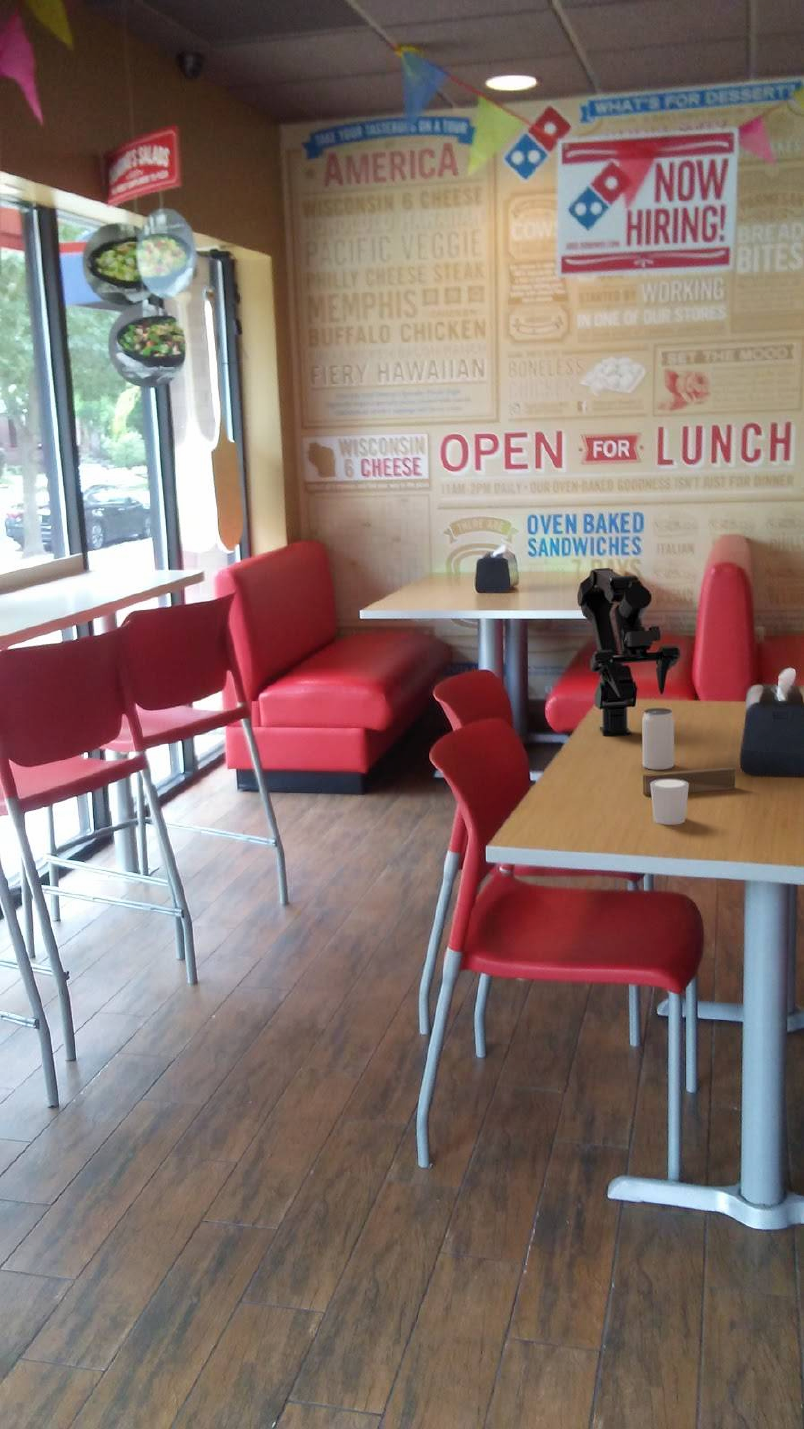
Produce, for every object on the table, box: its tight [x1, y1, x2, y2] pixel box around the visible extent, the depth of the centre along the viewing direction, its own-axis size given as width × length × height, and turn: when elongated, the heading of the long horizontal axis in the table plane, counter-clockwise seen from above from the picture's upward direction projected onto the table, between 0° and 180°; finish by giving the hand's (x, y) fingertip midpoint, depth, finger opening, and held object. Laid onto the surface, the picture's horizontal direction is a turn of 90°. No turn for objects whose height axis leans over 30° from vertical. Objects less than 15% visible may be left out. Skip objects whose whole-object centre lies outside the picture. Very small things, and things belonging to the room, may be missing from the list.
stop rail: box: [642, 766, 736, 797], centre depth 252 cm, size 2×18×4 cm, turn 97°
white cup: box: [650, 779, 689, 826], centre depth 235 cm, size 7×7×7 cm
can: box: [641, 707, 675, 771], centre depth 269 cm, size 6×6×12 cm
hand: (641, 695), depth 276 cm, fingers open, 9 cm apart
